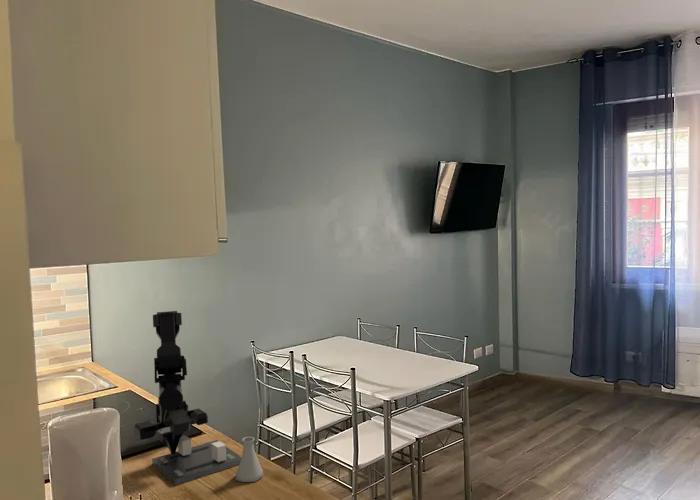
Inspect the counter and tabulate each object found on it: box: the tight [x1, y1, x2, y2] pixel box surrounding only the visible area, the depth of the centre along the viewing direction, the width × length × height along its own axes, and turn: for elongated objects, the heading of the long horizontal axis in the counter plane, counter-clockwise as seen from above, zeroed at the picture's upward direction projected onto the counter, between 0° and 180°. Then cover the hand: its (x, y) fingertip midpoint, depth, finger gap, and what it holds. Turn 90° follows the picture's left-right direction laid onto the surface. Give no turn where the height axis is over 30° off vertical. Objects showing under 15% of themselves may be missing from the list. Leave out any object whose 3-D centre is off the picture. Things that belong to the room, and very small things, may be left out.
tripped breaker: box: [177, 435, 192, 456], centre depth 158 cm, size 4×2×4 cm, turn 39°
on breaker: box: [212, 440, 227, 462], centre depth 154 cm, size 4×2×4 cm, turn 39°
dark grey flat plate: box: [151, 439, 242, 486], centre depth 156 cm, size 16×19×2 cm
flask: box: [235, 436, 264, 483], centre depth 147 cm, size 7×7×10 cm
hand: (172, 453), depth 156 cm, fingers closed
